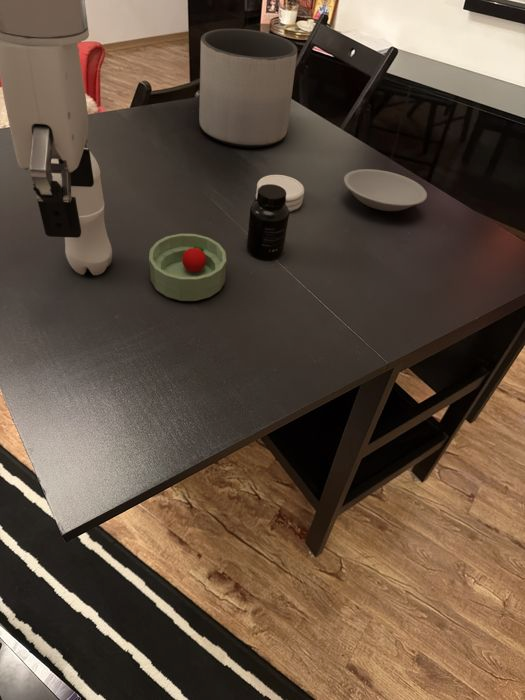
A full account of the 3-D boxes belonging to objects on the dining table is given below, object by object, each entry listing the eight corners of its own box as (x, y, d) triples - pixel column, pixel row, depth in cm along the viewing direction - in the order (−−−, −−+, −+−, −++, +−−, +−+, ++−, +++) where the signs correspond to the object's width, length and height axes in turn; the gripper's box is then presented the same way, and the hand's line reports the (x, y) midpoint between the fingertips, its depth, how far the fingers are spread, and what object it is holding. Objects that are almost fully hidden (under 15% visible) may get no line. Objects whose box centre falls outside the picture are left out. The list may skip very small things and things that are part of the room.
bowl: (149, 303, 76) (147, 278, 72) (153, 256, 84) (151, 232, 80) (226, 304, 77) (228, 279, 74) (222, 258, 86) (224, 234, 82)
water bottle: (123, 265, 81) (103, 111, 63) (91, 285, 77) (60, 127, 59) (92, 248, 83) (64, 96, 65) (59, 268, 79) (20, 109, 61)
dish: (418, 199, 108) (426, 179, 105) (419, 233, 99) (428, 211, 95) (342, 184, 110) (347, 163, 106) (335, 215, 100) (340, 193, 96)
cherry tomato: (180, 262, 77) (190, 239, 78) (176, 268, 81) (185, 247, 82) (203, 272, 78) (212, 249, 79) (198, 278, 82) (207, 257, 83)
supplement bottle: (240, 242, 90) (245, 182, 81) (273, 237, 92) (282, 178, 83) (254, 264, 85) (261, 203, 77) (289, 258, 88) (299, 198, 79)
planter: (212, 107, 132) (215, 22, 118) (292, 123, 131) (304, 38, 116) (187, 140, 117) (186, 46, 102) (278, 158, 115) (290, 65, 101)
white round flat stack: (255, 186, 104) (257, 171, 102) (300, 191, 105) (303, 176, 103) (255, 211, 98) (257, 195, 95) (303, 215, 98) (306, 200, 96)
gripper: (10, -19, 42) (49, 167, 55) (-56, 37, 31) (13, 257, 43) (98, -9, 43) (117, 171, 56) (68, 49, 32) (100, 260, 44)
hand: (72, 208), depth 49 cm, fingers open, 9 cm apart
